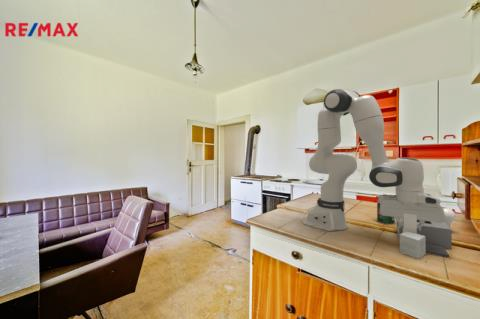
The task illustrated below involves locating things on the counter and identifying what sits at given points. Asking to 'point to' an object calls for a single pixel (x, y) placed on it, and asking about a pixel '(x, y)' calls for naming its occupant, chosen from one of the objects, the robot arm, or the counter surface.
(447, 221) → the lightbulb
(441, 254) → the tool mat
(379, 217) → the canned tomato
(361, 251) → the counter surface
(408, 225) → the beige rectangular block
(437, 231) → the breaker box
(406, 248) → the product box
